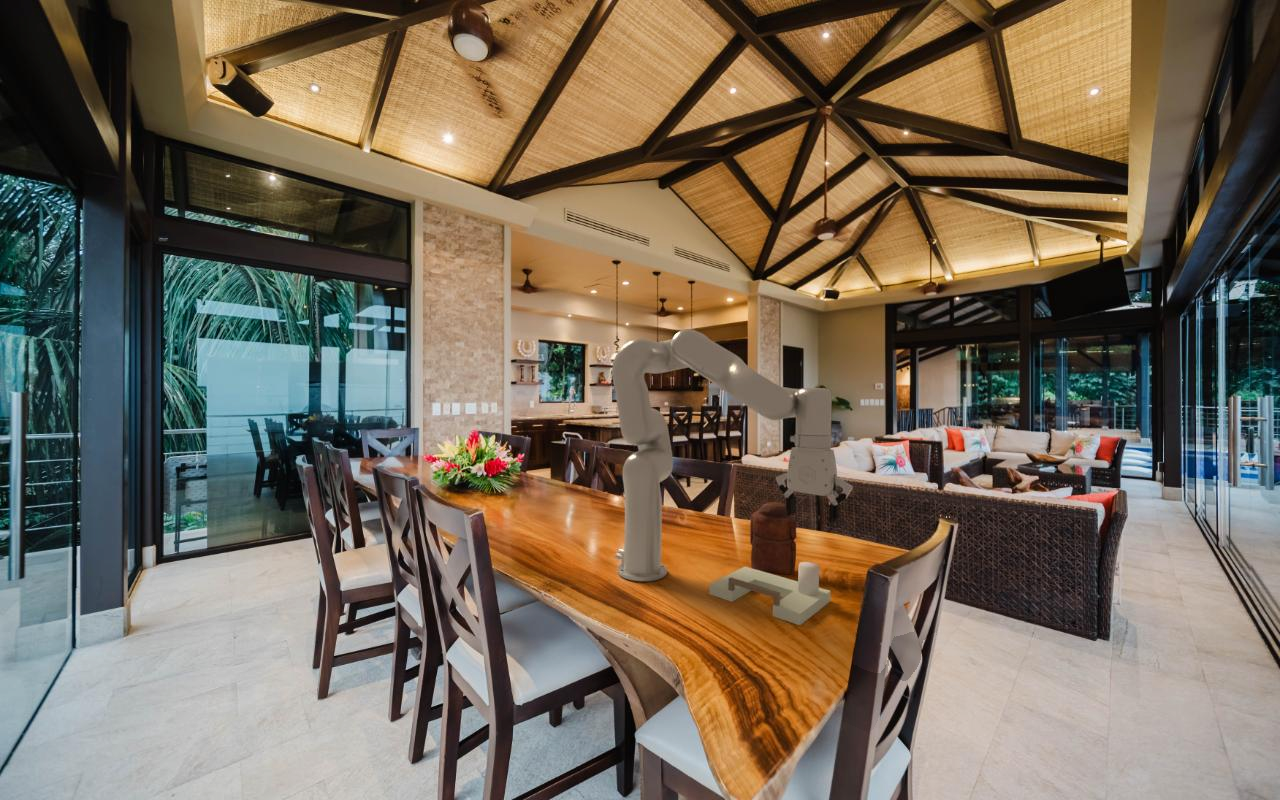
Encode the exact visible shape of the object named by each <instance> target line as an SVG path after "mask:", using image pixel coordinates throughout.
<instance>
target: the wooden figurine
mask: <svg viewBox="0 0 1280 800" xmlns="http://www.w3.org/2000/svg"><path fill="white" fill-rule="evenodd" d="M760 506H761V507H760V508H759V509H758V510H756V511H754V512H752V513H751V515H750V524H749V525H750V526H749V528H750V529H749V531H750V535H749V536H750V537H749V538H750V545H751V552H750V566H751V567H750V568H752V569H756V570H759V571H763V572H766V573H772V574H773V573H774V574H784V575H794V574H795V569H796V561H797V543H796V541H795V540H796V539H797V521H796V519H795V518H794V517H793V515H787V510H786V504H784V503H781V502H778V501H776V502H775V501H773V502H772V501H771V502H770V501H769V502H767V503H764V504H763V505H760Z"/></svg>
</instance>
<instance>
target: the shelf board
mask: <svg viewBox="0 0 1280 800" xmlns="http://www.w3.org/2000/svg"><path fill="white" fill-rule="evenodd" d="M752 591H753V592H755V593H759V594H763V595H765V596H769V597H772V600H773V601H772V603H773V604H772V617H775V618H777V619H780V620H783V621H786V622H788V623H792V624H794V625H797V626H801V625H803V624H804V623H805V622H806V621H808V620H809V619H810V618H811V617H813V615H815V614H817V612H819V611H820V610H822V609H823V608H824V607H825V606H826V605H828V604H829V603H830V602H831V593H832V592H831V590H829V589H825V588H821V587H819V594H818V595H815V596H809V595H804V594H801V593H800V592H799V591H798V580H793V579H790V578H787V577H783V576H780V575H777V574H776V575H775V574H773V573H771V572H764V571H759V570H756V569H753V568H751V567H748V566H742V567H741V568H739V569H737V570H735V571H732V572H731V573H729V574H727V575H724V576H723V577H721V578H719V579H717V580H715V581H713V582H711V583H709V594H708V595H710V596H714V597H717V598H719V599H723V600H725V601H729V602H730V603H732V602H734V601H736V600H737V599H739V598H741V597H743V596H745V595H746V594H748V593H750V592H752Z"/></svg>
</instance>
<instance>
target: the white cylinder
mask: <svg viewBox="0 0 1280 800" xmlns="http://www.w3.org/2000/svg"><path fill="white" fill-rule="evenodd" d="M797 572H798V575H797V576H798V578H797V581H798V591H799V592H800V593H801V594H804V595H809V596H815V595H818V594H819V588H820V586H819V585H820V565H819V564H817V563H816V562H815V563H814V562H811V561H801V562H799V563H798V571H797Z"/></svg>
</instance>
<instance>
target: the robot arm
mask: <svg viewBox="0 0 1280 800" xmlns="http://www.w3.org/2000/svg"><path fill="white" fill-rule="evenodd" d="M686 368H687V369H688V368H689V369H691V370H692V371H693V372H696V373H697V374H699V375H700V376H702V377H703V378H705V379H706V380H708V381H709V382H711V383H712V384H714V385H716V386H717V387H719V388H720V389H721V390H722V391H724V392H726V393H728V394H729V395H730V396H731V397H733V398H734V399H736V400H737V401H738V402H740V403H741V404H743V405H745V406H746V407H748V408H749V409H751V410H753V412H756V413H757V414H759V415H761V416H762V417H764V418H766V419H768V420H771V421H780V420H783V419H789V418H795V434H794V435H790V438H789V441H790V442H791V443H792V442H793V443H794V446H795V447H791V450H790V454H789V459H788V464H787V465H788V466H787V472H784V473H782V474H780V475H777V476H775V480H776V482H777V485H778V489H779V491H780V492H781V493H782V494H783V497H784V498H785V506H786V510H787V515H791V516H793V515H794V514H797V497H796V496H795V495H796V493H801V494H806V495H807V494H808V495H814V496H821V497H825V496H826V497H827V499H828V500H829V502H830V505H829V506H828V522H829V524H834V523H836V522H838V520H839V519H840V505H841V503H842V502H844V501H845V500H846V499H847V498H849V495H850V494H851V492H852V490H853V489H854V487H853V485H852V484H850V483H849V482H846V480H844V479H843V478H840V477H839V476H838V471H837V470H838V469H837V462H836V456H835V455H836V454H835V451H834V449H832V447H831V446H832V445H831V444H832V442H831V441H832V401H833V399H832V392H831V390H829V389H828V388H824V387H822V388H821V387H802V388H792V387H791V388H790V387H784V386H780V385H778V384H776V383H775V382H774V381H772V380H770V379H768V378H767V377H765V376H763V375H762V374H760V373H759V372H757V371H755V370H754V369H753V368H751V367H749V366H748V365H747V364H746V363H745V362H744V360H743V359H742V358H741V357H740V356H738V355H736V354H735V353H734V352H732V351H730V350H728V349H726V348H725V347H723V346H722V345H720V344H718V343H717V342H715V341H713V340H712V339H710V338H709V337H708V336H707V335H705V334H704V333H702V332H700V331H698V330H694V329H691V328H685V329H681V330H679V331H678V332H676V333H675V334H674V336H673V337H672V338H671V339H667V340H662V341H655V340H651V339H649V338H635V339H632V340H630V341H628V342H627V343H625V344H623V346H622V347H620V349H619V350H618V351H617V353H616V354H615V356H614V359H613V363H612V373H611V374H612V380H613V385H614V392H615V399H616V404H617V405H616V406H617V412H618V419H619V420H618V421H619V426H620V427H619V428H620V431H621V432H620V433H621V436H622V438H623V439H624V441H625V443H627V444H629V445H632V446H637V450H638V451H636V452H633V453H631V454H630V455H629V456H628V457H627V458H626V460H625V462H624V464H623V467H622V482H623V490H624V547H623V548H624V549H623V548H619V549H618V550H617V551H618V552H616V553H615V556H614V557H615V559H618V560H620V563H621V564H619V566H618V568H617V572H618V575H619V576H620V577H621V578H623V579H626V580H629V581H634V582H654V581H659V580H661V579H663V578H665V577H666V576H667V573H668V569H667V566H666V565H665V564H663V563H662V526H663V525H662V522H663V512H662V511H663V505H662V504H663V501H662V492H661V484H660V483H661V482H663V481H664V480H667V479H668V477H670V475H671V474H672V471H673V468H674V458H673V451H672V444H671V438H670V432H669V425H668V423H667V420H666V418H665V416H664V414H662V413H661V412H660V411H659V410H657V409H656V408H653V407H652V405H651V401H650V392H649V389H648V385H647V383H646V380H645V374H646V373H647V374H663V373H668V372H672V371H677V370H682V369H686ZM785 481H786V482H785ZM838 487H840V488H841V489H842V492H841V493H840V494H838V492H837V489H838Z"/></svg>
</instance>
